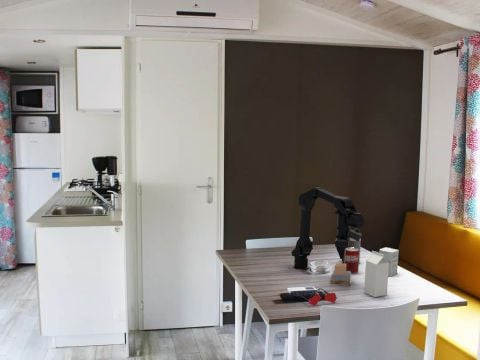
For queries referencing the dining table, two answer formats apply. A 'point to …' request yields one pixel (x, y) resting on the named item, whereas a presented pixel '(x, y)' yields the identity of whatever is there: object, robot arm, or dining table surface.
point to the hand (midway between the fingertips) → (342, 256)
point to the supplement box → (391, 259)
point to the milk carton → (376, 275)
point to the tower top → (341, 276)
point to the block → (340, 268)
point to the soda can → (352, 260)
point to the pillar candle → (353, 244)
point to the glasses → (317, 298)
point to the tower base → (340, 282)
